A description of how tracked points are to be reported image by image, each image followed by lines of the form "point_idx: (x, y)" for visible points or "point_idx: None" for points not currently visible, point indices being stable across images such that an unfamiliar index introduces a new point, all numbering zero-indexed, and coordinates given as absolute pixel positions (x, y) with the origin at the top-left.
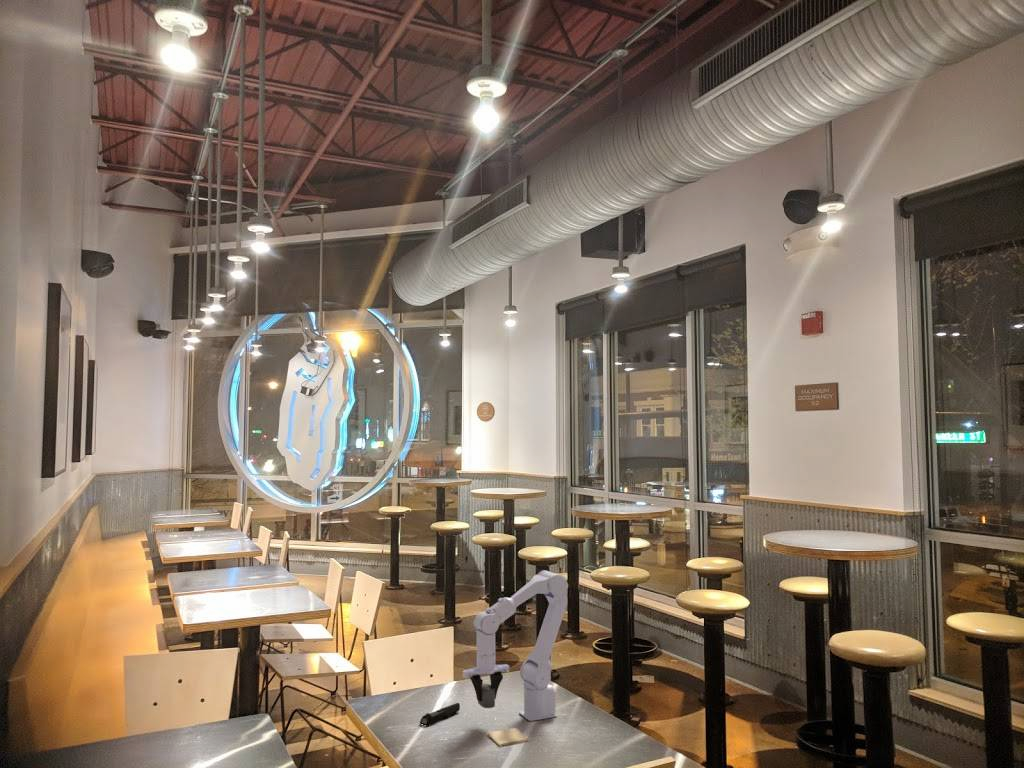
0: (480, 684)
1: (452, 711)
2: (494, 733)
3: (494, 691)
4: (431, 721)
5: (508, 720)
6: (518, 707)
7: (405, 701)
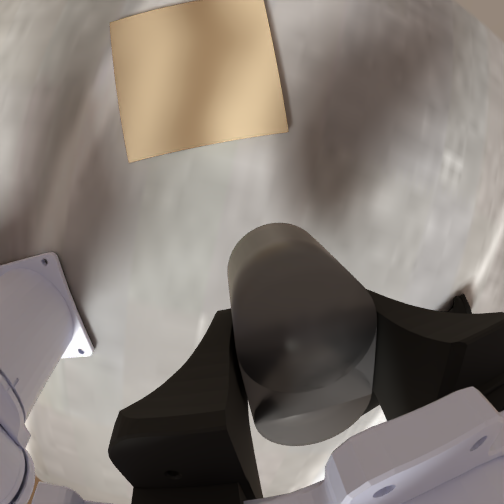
0: (434, 327)
1: None
2: (254, 115)
3: (244, 297)
4: (456, 306)
5: (144, 292)
6: (99, 399)
7: None
